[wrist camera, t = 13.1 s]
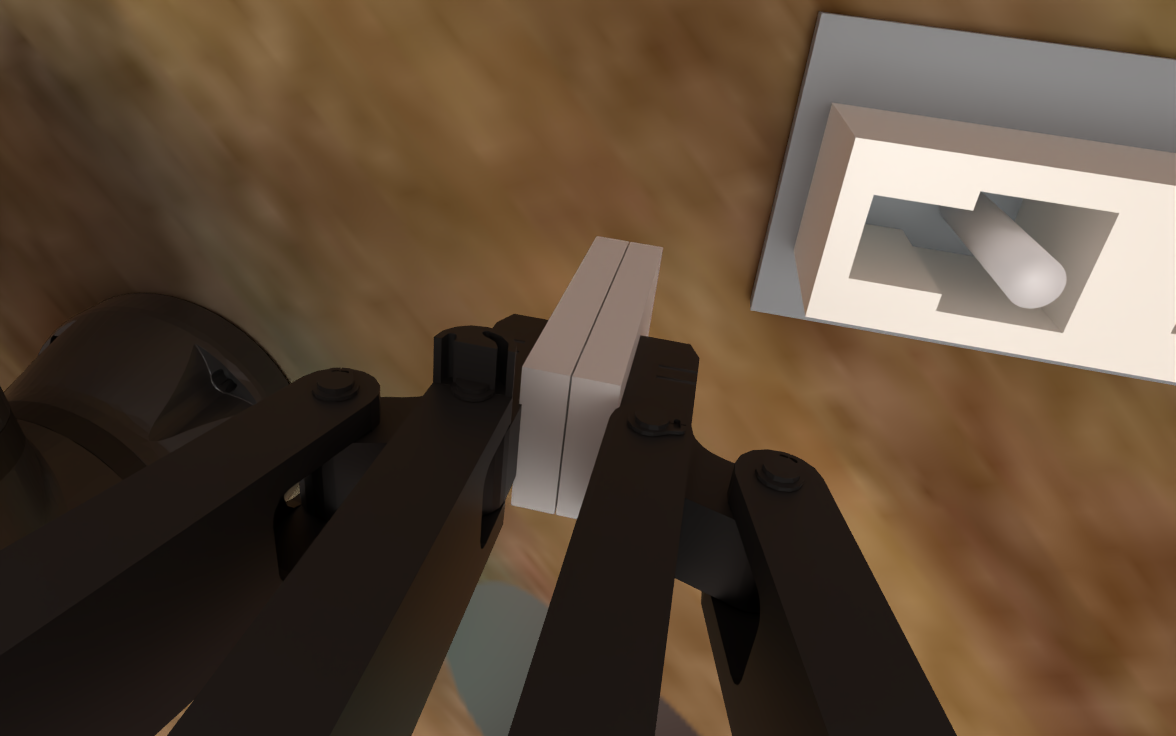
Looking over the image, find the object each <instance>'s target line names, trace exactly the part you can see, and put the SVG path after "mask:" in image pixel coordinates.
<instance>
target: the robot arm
mask: <svg viewBox="0 0 1176 736" xmlns="http://www.w3.org/2000/svg"><path fill="white" fill-rule="evenodd" d="M628 245H629V246H628ZM662 251H663V247H658V246H652V245H646V244H640V243H635V242H630V244H629V241H623V240H617V239H611V238H605V237H599V236H596V238H595V240H594V242H593V243H592V245H591V247H590V249H589V250H588V252H587V254H586V256H585V257H584V259H583V261H582V263H581V264H580V266H579V268H578V270H577V271H576V273H575V275H574V277H573V278H572V280H571V282H570V284H569V285H568V287H567V289H566V291H565V292H564V294H563V296H562V298H561V300H560V301H559V303H558V305H557V307H556V308H555V310H554V312H553V314H552V315H551V317H550V319H549V320H545V319H540V318H534V317H529V316H523V315H518V314H513V315H511V316H509V317H507V318H505V319H503V320H501V321H499V322H497V323H496V324H495V326H494V327H493V328H489V327H481V326H460V327H454V328H450V329H447V330H444V331H442V332H440V333H439V334H437V335H436V336H435V337H434V369H433V383H432V385H431V386H430V387H429V389H428V390H427V391H426V393H425V394H424V395H423V396H420V397H380V385H379V383H378V382H377V380H376V379H375V378H374V377H372V376H371V375H369V374H367V373H365V372H362V371H358V370H353V369H349V368H342V369H340V368H330V369H326V370H321V371H316V372H313V373H311V374H308V375H306V376H303V377H301V378H300V379H298V380H296V381H295V382H293V383H291V384H288V382H287V380H286V379H285V377H284V376H283V374H282V373H281V371H280V370H279V369H278V367H277V366H276V365H275V364H274V362H273V361H272V360H271V359H270V358H269V357H268V355H267V354H266V353H265V352H264V351H263V350H262V349H261V348H260V347H259V346H258V345H257V344H256V343H255V342H254V341H253V340H251V339H250V338H249V337H248V336H247V335H245V334H244V333H243V332H242V331H240V330H239V329H238V328H236V327H235V326H234V325H232V324H231V323H229V322H228V321H226V320H225V319H223V318H221V317H220V316H218V315H216V314H214V313H212V312H211V311H209V310H207V309H205V308H202V307H200V306H198V305H195V304H193V303H190V302H187V301H184V300H181V299H178V298H174V297H170V296H165V295H158V294H148V293H136V294H127V295H121V296H117V297H113V298H111V299H108V300H105V301H103V302H101V303H99V304H97V305H96V306H94V307H92V308H90V309H88V310H86V311H84V312H82V313H80V314H78V315H76V316H74V317H72V318H71V319H69V320H68V321H66V322H65V323H64V324H63V325H61V326H60V327H59V328H58V329H57V330H56V331H55V332H54V333H53V334H52V335H51V336H50V338H49V339H48V340H47V342H46V343H45V344H44V345H43V347H42V349H41V350H40V352H39V355H38V357H37V358H36V359H35V360H34V361H33V362H32V363H31V364H30V365H29V366H28V367H27V368H26V369H25V370H24V372H23V373H22V374H21V375H20V376H19V377H18V378H17V379H16V380H15V381H14V382H13V383H12V384H11V385H10V386H9V387H8V388H7V390H6V391H5V392H3V390H2V389H1V387H0V736H155V735H156V734H157V733H158V732H159V731H160V730H161V729H162V728H163V727H165V726H166V725H167V724H168V723H169V722H170V721H171V720H172V719H173V718H174V717H176V716H177V715H178V714H179V713H180V712H181V711H182V710H183V709H184V708H185V707H186V706H188V705H189V704H190V703H191V702H192V701H193V700H194V701H193V702H192V703H191V705H190V706H189V707H188V709H187V710H186V711H185V713H184V714H183V715H182V717H181V718H180V719H179V721H178V722H177V723H176V724H175V726H174V727H173V728H172V730H171V731H170V732H169V734H168V735H167V736H411V735H412V733H413V731H414V728H415V726H416V724H417V721H418V719H419V717H420V714H421V712H422V710H423V708H424V705H425V703H426V701H427V698H428V696H429V694H430V691H431V689H432V687H433V684H434V682H435V680H436V678H437V675H438V673H439V671H440V668H441V666H442V664H443V661H444V659H445V657H446V654H447V652H448V650H449V647H450V645H451V643H452V641H453V638H454V636H455V634H456V631H457V629H458V627H459V624H460V622H461V620H462V618H463V615H464V613H465V610H466V608H467V606H468V604H469V601H470V599H471V597H472V594H473V592H474V590H475V587H476V585H477V583H478V581H479V578H480V576H481V574H482V571H483V569H484V567H485V564H486V562H487V560H488V558H489V555H490V553H491V551H492V548H493V546H494V544H495V541H496V539H497V537H498V534H499V532H500V530H501V528H502V525H503V519H504V509H505V499H506V497H507V494H508V492H509V490H510V488H511V486H512V484H513V488H512V501H511V505H513V506H518V507H523V508H527V509H532V510H537V511H541V512H546V513H551V514H554V513H555V510H556V507H557V510H556V515H560V516H565V517H569V518H574V519H577V521H576V524H575V527H574V530H573V533H572V537H571V540H570V543H569V546H568V549H567V552H566V555H565V558H564V562H563V565H562V568H561V571H560V574H559V577H558V580H557V584H556V587H555V590H554V593H553V596H552V599H551V602H550V605H549V609H548V612H547V615H546V618H545V621H544V624H543V628H542V631H541V634H540V637H539V640H538V643H537V646H536V649H535V653H534V656H533V659H532V662H531V665H530V668H529V672H528V674H527V678H526V681H525V684H524V687H523V691H522V694H521V696H520V700H519V703H518V706H517V709H516V712H515V715H514V718H513V721H512V725H511V728H510V731H509V734H508V736H655V729H656V721H657V713H658V705H659V698H660V690H661V682H662V674H663V666H664V658H665V650H666V642H667V634H668V627H669V619H670V611H671V603H672V595H673V587H674V579H675V578H676V579H678V580H680V581H682V582H684V583H686V584H688V585H690V586H692V587H694V588H696V589H698V590H700V591H702V597H701V605H702V609H703V613H704V618H705V622H706V626H707V630H708V635H709V639H710V643H711V647H712V652H713V656H714V660H715V664H716V669H717V673H718V677H719V682H720V686H721V690H722V694H723V699H724V703H725V707H726V711H727V716H728V720H729V724H730V728H731V733H732V736H957V735H956V733H955V731H954V729H953V727H952V725H951V723H950V722H949V720H948V718H947V716H946V714H945V712H944V710H943V708H942V706H941V704H940V702H939V700H938V698H937V697H936V695H935V693H934V691H933V689H932V687H931V685H930V683H929V681H928V679H927V677H926V675H925V673H924V672H923V670H922V668H921V666H920V664H919V662H918V660H917V658H916V656H915V654H914V652H913V650H912V648H911V647H910V645H909V643H908V641H907V639H906V637H905V635H904V633H903V631H902V629H901V627H900V625H899V623H898V622H897V620H896V618H895V616H894V614H893V612H892V610H891V608H890V606H889V604H888V602H887V600H886V598H885V596H884V595H883V593H882V591H881V589H880V587H879V585H878V583H877V581H876V579H875V577H874V575H873V573H872V571H871V570H870V568H869V566H868V564H867V562H866V560H865V558H864V556H863V554H862V552H861V550H860V548H859V546H858V545H857V543H856V541H855V539H854V537H853V535H852V533H851V531H850V529H849V527H848V525H847V523H846V521H845V520H844V518H843V516H842V514H841V512H840V510H839V508H838V506H837V504H836V502H835V500H834V498H833V496H832V495H831V493H830V491H829V489H828V487H827V485H826V483H825V481H824V479H823V478H822V477H821V475H820V474H819V473H818V472H817V470H816V469H815V468H814V467H812V466H811V465H809V464H808V463H806V462H805V461H803V460H802V459H800V458H798V457H796V456H793V455H790V454H788V453H785V452H781V451H774V450H768V449H767V450H752V451H750V452H747V453H745V454H742V455H741V456H740V457H739V458H738V460H737V461H736V462H735V463H732V462H730V461H727V460H725V459H723V458H721V457H719V456H717V455H715V454H713V453H711V452H710V451H708V450H707V449H705V448H704V447H703V446H702V445H701V444H700V443H699V442H698V441H697V440H696V439H695V437H694V435H693V431H692V427H691V423H692V415H693V407H694V399H695V391H696V382H697V373H698V366H699V357H698V355H697V354H696V352H695V351H694V349H693V348H692V346H691V345H690V344H685V343H680V342H674V341H669V340H664V339H658V338H653V337H648V333H649V327H650V322H651V316H652V310H653V304H654V298H655V292H656V286H657V280H658V274H659V269H660V263H661V257H662ZM298 485H299V486H300V494H298V495H297V496H296V497H294V498H293V499H292V500H289V501H287V499H288V498H289V497H290V496H291V495H292V494H293V492H294V491H295V490H296V488H297V487H298ZM286 501H287V502H286Z"/></svg>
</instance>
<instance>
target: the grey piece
mask: <svg viewBox="0 0 1176 736" xmlns="http://www.w3.org/2000/svg"><path fill="white" fill-rule="evenodd" d="M832 103H838V104H845V105H852V106H859V107H866V108H872V109H879V110H886V111H893V112H900V113H906V114H913V115H920V116H927V117H934V118H940V119H947V120H954V121H961V122H968V123H974V124H981V125H988V126H995V127H1001V128H1008V129H1015V130H1022V131H1029V132H1035V133H1042V134H1049V135H1056V136H1063V137H1069V138H1076V139H1083V140H1090V141H1097V142H1103V143H1110V144H1117V145H1124V146H1131V147H1137V148H1144V149H1151V150H1158V151H1165V152H1171V153H1176V59H1173V58H1165V57H1158V56H1150V55H1143V54H1135V53H1128V52H1120V51H1112V50H1105V49H1097V48H1090V47H1082V46H1075V45H1067V44H1060V43H1052V42H1045V41H1037V40H1030V39H1022V38H1015V37H1007V36H1000V35H992V34H985V33H977V32H970V31H962V30H955V29H947V28H940V27H932V26H925V25H917V24H910V23H902V22H895V21H887V20H880V19H872V18H864V17H857V16H849V15H842V14H834V13H827V12H819V13H818V18H817V22H816V26H815V30H814V34H813V39H812V43H811V47H810V51H809V56H808V60H807V64H806V68H805V72H804V77H803V81H802V85H801V89H800V93H799V98H798V102H797V106H796V110H795V114H794V119H793V123H792V127H791V131H790V135H789V140H788V144H787V148H786V152H785V156H784V161H783V165H782V169H781V173H780V177H779V182H778V186H777V190H776V194H775V198H774V203H773V207H772V211H771V215H770V219H769V224H768V228H767V232H766V236H765V240H764V245H763V249H762V253H761V257H760V261H759V266H758V270H757V274H756V278H755V282H754V287H753V291H752V295H751V299H750V308H751V310H753V311H758V312H764V313H770V314H775V315H781V316H787V317H792V318H798V319H804V320H809V321H815V322H820V323H826V324H832V325H837V326H843V327H849V328H854V329H860V330H866V331H871V332H877V333H883V334H888V335H894V336H899V337H905V338H911V339H916V340H922V341H928V342H933V343H939V344H945V345H950V346H956V347H961V348H967V349H973V350H978V351H984V352H990V353H995V354H1001V355H1007V356H1012V357H1018V358H1024V359H1029V360H1035V361H1040V362H1046V363H1052V364H1057V365H1063V366H1069V367H1074V368H1080V369H1086V370H1091V371H1097V372H1103V373H1108V374H1114V375H1119V376H1125V377H1131V378H1136V379H1142V380H1148V381H1153V382H1159V383H1165V384H1170V385H1176V383H1175V382H1170V381H1164V380H1159V379H1153V378H1147V377H1142V376H1136V375H1130V374H1125V373H1119V372H1114V371H1108V370H1102V369H1097V368H1091V367H1085V366H1080V365H1074V364H1069V363H1063V362H1057V361H1052V360H1046V359H1041V358H1035V357H1029V356H1024V355H1018V354H1012V353H1007V352H1001V351H996V350H990V349H984V348H979V347H973V346H967V345H962V344H956V343H951V342H945V341H939V340H934V339H928V338H923V337H917V336H911V335H906V334H900V333H894V332H889V331H883V330H878V329H872V328H866V327H861V326H855V325H849V324H844V323H838V322H833V321H827V320H821V319H816V318H810V317H805V312H804V306H803V301H802V295H801V289H800V284H799V278H798V272H797V267H796V261H795V255H794V247H795V243H796V239H797V235H798V232H799V228H800V224H801V220H802V216H803V212H804V209H805V205H806V201H807V197H808V193H809V189H810V186H811V182H812V178H813V174H814V170H815V166H816V163H817V159H818V155H819V151H820V147H821V143H822V140H823V136H824V132H825V128H826V124H827V120H828V117H829V113H830V109H831V105H832ZM1023 199H1024V198H1019V197H1013V196H1007V195H1000V194H994V193H987V192H981V191H980V194H979V197H978V199H977V202H976V205H975V207H974V210H973V211H972V210H966V209H960V208H954V207H947V206H941V205H935V204H928V203H922V202H916V201H910V200H903V199H897V198H891V197H884V196H878V195H873V199H872V202H871V205H870V209H869V212H868V215H867V218H866V222H865V224H869V225H875V226H882V227H888V228H894V229H900V230H903V232H904V233H905V235H906V237H907V238H908V240H909V241H910V243H911V245H912V246H913V247H919V248H925V249H931V250H938V251H944V252H950V253H956V254H962V255H968V256H974V257H975V258H976V259H977V260H978V261H979V262H980V264H981V265H982V266H983V267H984V269H985V270H986V271H987V272H988V274H989V275H990V276H991V277H992V278H993V280H994V281H995V282H996V283H997V285H998V286H999V287H1000V288H1001V290H1002V291H1003V292H1004V293H1005V294H1006V296H1007V297H1008V298H1009V299H1010V301H1011V302H1012V303H1014V304H1015V305H1017V306H1019V307H1022V308H1028V309H1033V308H1039V307H1043V306H1045V305H1048V304H1049V303H1051V302H1053V301H1054V300H1055V299H1056V298H1058V297H1059V295H1060V294H1061V293H1062V291H1063V290H1064V288H1065V285H1066V279H1067V278H1066V272H1065V270H1064V268H1063V266H1062V265H1061V264H1060V263H1059V262H1058V261H1057V260H1055V259H1054V258H1053V257H1052V256H1051V255H1050V254H1049V253H1048V252H1047V251H1046V250H1045V249H1043V248H1042V247H1041V246H1040V245H1039V244H1038V243H1037V242H1036V241H1035V240H1034V239H1033V238H1032V237H1030V236H1029V235H1028V234H1027V233H1026V232H1025V231H1024V230H1023V229H1022V228H1021V227H1020V226H1018V225H1017V224H1016V223H1015V219H1016V217H1017V214H1018V212H1019V209H1020V207H1021V204H1022V202H1023Z"/></svg>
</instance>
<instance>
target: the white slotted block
mask: <svg viewBox="0 0 1176 736" xmlns="http://www.w3.org/2000/svg"><path fill="white" fill-rule="evenodd" d="M980 191H981V192H987V193H994V194H1000V195H1007V196H1013V197H1019V198H1024V199H1023V202H1022V204H1021V207H1020V209H1019V212H1018V214H1017V217H1016V219H1015V223H1016V224H1017V225H1018V226H1020V227H1021V228H1022V229H1023V230H1024V231H1025V232H1026V233H1027V234H1028V235H1029V236H1030V237H1032V238H1033V239H1034V240H1035V241H1036V242H1037V243H1038V244H1039V245H1040V246H1041V247H1042V248H1043V249H1045V250H1046V251H1047V252H1048V253H1049V254H1050V255H1051V256H1052V257H1053V258H1054V259H1055V260H1057V261H1058V262H1059V263H1060V264H1061V265H1062V266H1063V268H1064V270H1065V272H1066V278H1067V279H1066V285H1065V288H1064V290H1063V291H1062V293H1061V294H1060V295H1059V297H1058V298H1056V299H1055V300H1054V301H1053V302H1051V303H1049V304H1048V305H1045V306H1043V307H1039V308H1033V309H1028V308H1022V307H1019V306H1017V305H1015V304H1014V303H1012V302H1011V301H1010V299H1009V298H1008V297H1007V296H1006V294H1005V293H1004V292H1003V291H1002V290H1001V288H1000V287H999V286H998V285H997V283H996V282H995V281H994V280H993V278H992V277H991V276H990V275H989V274H988V272H987V271H986V270H985V269H984V267H983V266H982V265H981V264H980V262H979V261H978V260H977V259H976V258H975V257H974V256H968V255H962V254H956V253H950V252H944V251H938V250H931V249H925V248H919V247H913V246H912V245H911V243H910V241H909V240H908V238H907V237H906V235H905V233H904V232H903V230H900V229H894V228H888V227H882V226H875V225H869V224H865V222H866V218H867V215H868V212H869V209H870V205H871V202H872V199H873V195H878V196H884V197H891V198H897V199H903V200H910V201H916V202H922V203H928V204H935V205H941V206H947V207H954V208H960V209H966V210H972V211H973V210H974V207H975V205H976V202H977V199H978V197H979V194H980ZM794 255H795V261H796V267H797V272H798V278H799V284H800V289H801V295H802V301H803V306H804V312H805V317H810V318H816V319H821V320H827V321H833V322H838V323H844V324H849V325H855V326H861V327H866V328H872V329H878V330H883V331H889V332H894V333H900V334H906V335H911V336H917V337H923V338H928V339H934V340H939V341H945V342H951V343H956V344H962V345H967V346H973V347H979V348H984V349H990V350H996V351H1001V352H1007V353H1012V354H1018V355H1024V356H1029V357H1035V358H1041V359H1046V360H1052V361H1057V362H1063V363H1069V364H1074V365H1080V366H1085V367H1091V368H1097V369H1102V370H1108V371H1114V372H1119V373H1125V374H1130V375H1136V376H1142V377H1147V378H1153V379H1159V380H1164V381H1170V382H1175V383H1176V153H1171V152H1165V151H1158V150H1151V149H1144V148H1137V147H1131V146H1124V145H1117V144H1110V143H1103V142H1097V141H1090V140H1083V139H1076V138H1069V137H1063V136H1056V135H1049V134H1042V133H1035V132H1029V131H1022V130H1015V129H1008V128H1001V127H995V126H988V125H981V124H974V123H968V122H961V121H954V120H947V119H940V118H934V117H927V116H920V115H913V114H906V113H900V112H893V111H886V110H879V109H872V108H866V107H859V106H852V105H845V104H838V103H832V105H831V109H830V113H829V117H828V120H827V124H826V128H825V132H824V136H823V140H822V143H821V147H820V151H819V155H818V159H817V163H816V166H815V170H814V174H813V178H812V182H811V186H810V189H809V193H808V197H807V201H806V205H805V209H804V212H803V216H802V220H801V224H800V228H799V232H798V235H797V239H796V243H795V247H794Z"/></svg>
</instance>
